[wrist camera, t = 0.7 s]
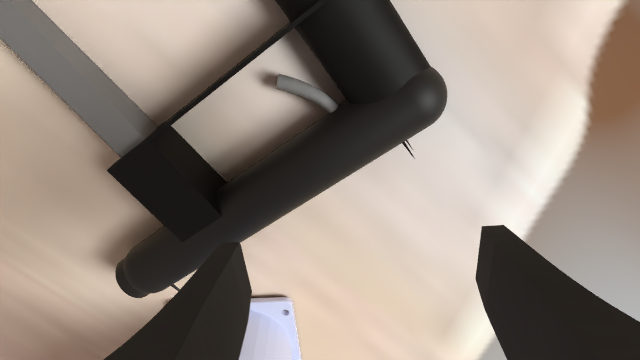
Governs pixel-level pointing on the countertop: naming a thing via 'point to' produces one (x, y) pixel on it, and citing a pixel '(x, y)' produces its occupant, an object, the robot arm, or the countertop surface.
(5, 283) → the countertop surface
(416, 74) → the door handle
